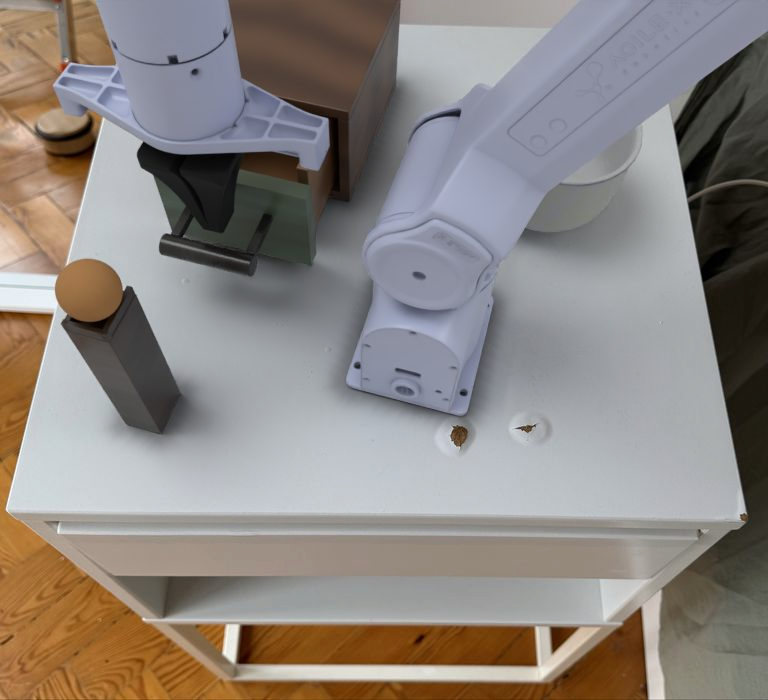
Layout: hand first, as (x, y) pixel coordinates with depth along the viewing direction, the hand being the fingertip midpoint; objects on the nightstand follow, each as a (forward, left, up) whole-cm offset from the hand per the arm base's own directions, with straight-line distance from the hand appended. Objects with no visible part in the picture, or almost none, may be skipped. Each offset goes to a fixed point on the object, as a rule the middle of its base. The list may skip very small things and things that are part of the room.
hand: (218, 219), depth 46 cm
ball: (-11, +1, +7) cm, 13 cm away
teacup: (+14, -18, -7) cm, 23 cm away
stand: (-11, +1, -6) cm, 13 cm away
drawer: (+6, 0, -5) cm, 8 cm away
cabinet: (+16, 0, -6) cm, 17 cm away
